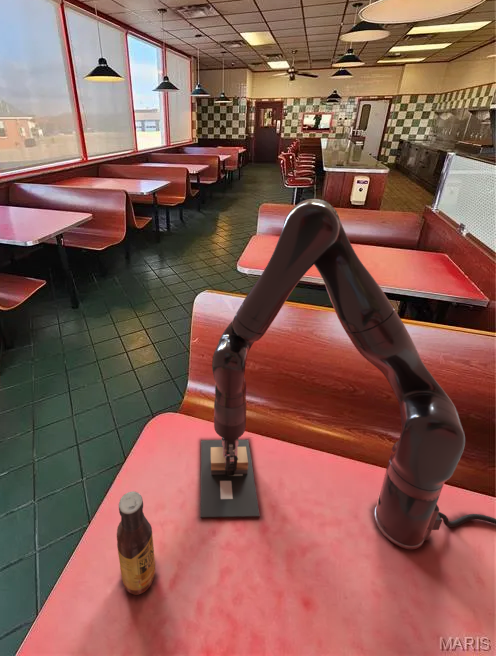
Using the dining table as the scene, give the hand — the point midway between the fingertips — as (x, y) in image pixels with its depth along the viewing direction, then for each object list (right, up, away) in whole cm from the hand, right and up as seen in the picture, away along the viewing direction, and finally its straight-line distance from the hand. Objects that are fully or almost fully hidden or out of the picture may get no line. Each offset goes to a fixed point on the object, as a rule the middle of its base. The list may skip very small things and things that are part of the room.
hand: (228, 464), depth 83 cm
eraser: (0, -1, 0) cm, 1 cm away
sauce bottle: (-18, -9, -20) cm, 29 cm away
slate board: (-1, -2, -1) cm, 2 cm away
